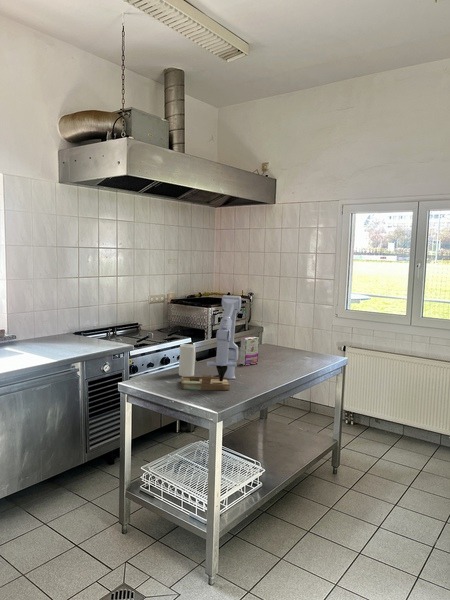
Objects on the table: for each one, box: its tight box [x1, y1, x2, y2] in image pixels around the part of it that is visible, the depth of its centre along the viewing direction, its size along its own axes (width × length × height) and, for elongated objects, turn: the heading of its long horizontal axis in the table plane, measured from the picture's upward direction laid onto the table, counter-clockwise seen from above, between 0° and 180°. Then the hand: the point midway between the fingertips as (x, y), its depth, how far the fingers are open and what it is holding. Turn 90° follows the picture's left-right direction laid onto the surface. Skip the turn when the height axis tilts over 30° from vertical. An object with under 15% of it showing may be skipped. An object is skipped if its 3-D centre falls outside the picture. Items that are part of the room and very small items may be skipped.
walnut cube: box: [201, 373, 212, 384], centre depth 216 cm, size 4×4×4 cm
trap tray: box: [180, 376, 231, 391], centre depth 219 cm, size 13×23×3 cm, turn 97°
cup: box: [178, 343, 196, 377], centre depth 238 cm, size 8×8×16 cm
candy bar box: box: [239, 336, 260, 365], centre depth 270 cm, size 11×5×16 cm, turn 131°
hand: (220, 380), depth 217 cm, fingers closed
